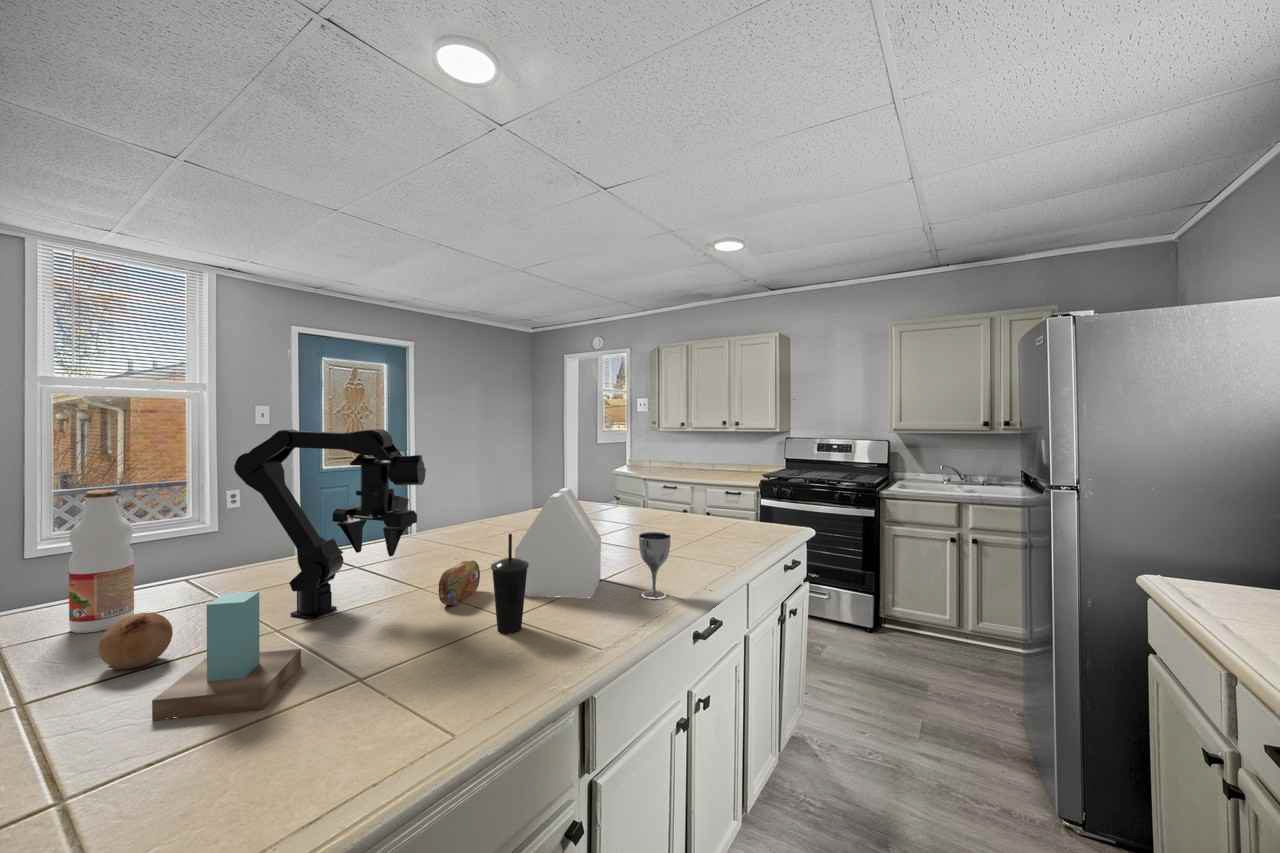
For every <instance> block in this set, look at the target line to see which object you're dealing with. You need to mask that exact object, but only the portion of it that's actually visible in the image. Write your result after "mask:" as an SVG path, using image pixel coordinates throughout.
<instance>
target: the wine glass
mask: <svg viewBox="0 0 1280 853" xmlns="http://www.w3.org/2000/svg"><path fill="white" fill-rule="evenodd" d="M671 538H672V537H671V535H670V534H669V533H665V532H658V531H655V532H654V531H649V532H642V533H640V534H639V535H638V547H639V553H640V554H639V555H640V557H641V559H642V561H643V562H644V563H645V565H647V567H648V569H649V570H650V573H651V578H652V579H651V580H652V589H649V590H650V591H648V590H644V591H645V592H644V593H643V594H644V596H646V597H655V598H658V597H662V596H664V593H663V592H664V591H663V592H661V591H662V590H659V591H657V590H658V589H657V588H656V587H657V586H656V584H657V577H658V576H657V575H658V572H659V569H660V568H661V567H662V566H663V564H665V562H666V561H668V558H669V555H670V549H671V544H672V543H671V542H672V541H671Z"/></svg>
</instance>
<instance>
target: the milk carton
mask: <svg viewBox="0 0 1280 853" xmlns="http://www.w3.org/2000/svg"><path fill="white" fill-rule="evenodd" d="M601 549H602V537H601V535H600V534H599V532H598V531H597V528H596V527H595V526H594V524H593V523H592V521H591V518H589V516H588V514H587V513H586V511H585V510H584V508H583V506H582V505H581V502H580V501H579V500H578V498H577V497H576V495H575V493H574V491H573V490H572V489H571V487H563V488H561V489H559V490H558V491H557V492H555V493H553V494H552V495H549V497H548V499H546V502H545V503H544V505H543V506H542V508H541V509H540V511H539V512H538V514H537V515H536V517H535V519H534V520H533V522H532V523H531V525H530V526H529V528H528V530H527V531H526V533H525V534H524V536H522V538H521V540H520V541H519V543H518V545H517V546H516V548H515V549H514V558H518V559H521V560H523V561H526V562H528V563H529V567H528V568H527V576H526V586H525V595H526V596H525V597H535V596H565V597H566V596H567V597H592V598H593V596H594V594H595V592H596V590H597V588H596V586H597V587H598V585H599V583H600V581H601V577H602V576H601V573H602V572H601V564H602V562H601V560H602V558H601V555H602V553H601V552H602V550H601ZM599 580H600V581H599ZM598 582H599V583H598ZM597 584H598V585H597ZM595 589H596V590H595ZM594 591H595V592H594ZM593 593H594V594H593ZM592 595H593V596H592Z"/></svg>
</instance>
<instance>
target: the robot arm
mask: <svg viewBox="0 0 1280 853" xmlns="http://www.w3.org/2000/svg"><path fill="white" fill-rule="evenodd" d="M296 448H297V449H298V448H300V449H319V450H320V449H321V450H325V449H326V450H342V451H347V452H349V453H353V454H357V456H356V457H355V458H354V459H353V460H351V461H350V462H349V465H350V466H360V489H359V490H355V496H360V506H359V505H349V506H343V507H339V508H336V509H335V510H334V511H333V512H332V522H333V523H336V525H337V526H338V527H339V528H340V529H341V530H342V532H343V533H344V534H345V535H344V536H346V538H347V539H348V541H349V542H350V544H351V546H352V548H353V550H354V552H355V553H356V554H358V553H361V551H362V548H363V531H364V530H363V528H364V526H365V524H366V523H367V521H368V520H370V521H381V522H383V523H384V525H385V526H386V527H383V528H382V530H383V534H384V541H385V544H386V545H385V546H386V550H387V553H388V557H393V556H394V555H395V553H396V550H397V548H398V545H399V542H400V540H401V537H402V535H403V533H404V532H405V531H406V529H408V528H410V527H412V525H413V524H416V523H418V513H417V512H416V511H415V510H413V509H408V505H409V498H406V497H404V496H399V495H395V490H394V488H393V487H392V488H390V482H391V483H393V485H394V486H422V485H424V482H425V479H426V475H427V474H426V467H425V463H424V460H423V455H422V454H414V455H402V453H401V451H400V450H399V449H398V448H397V446H396V445H395V444H394V442H393V437H392V436H391V434H390V433H389V432H388V431H387V430H385V429H381V428H380V429H366V430H359V431H357V430H356V431H350V432H336V431H334V432H333V431H312V430H311V431H309V430H308V431H307V430H306V431H305V430H296V429H281V430H278V431H276V432H275V433H274V434H272V435H271V436H270V438H267V440H264V441H263V442H261V443H260V444H258V445H256V446H254V448H252V449H250V450H249V452H246V453H242V454H241V455H240V456H238V458H236V460H235V463H234V465H233V469H234V472H235V474H236V475H237V476H238V477H239V478H240V480H242V482H244V484H245V485H246V486H248V487H250V488H251V489H253V490H255V492H257V493H259V494H260V495H261V496H262V497H263V500H265V502H266V504H267V505H268V507H269V508H270V510H271V511H272V513H273V514H274V516H275V517H276V518H277V521H278V522H279V523H280V525H281V527H282V528H283V529H284V531H285V533H286V534H287V536H288V537H289V539H290V541H291V542H292V543H293V545H294V546H295V548H296V555H297V564H298V567H299V569H300V571H299V573H298V574H297V575H296V576H295V577H294V578H292V579H291V581H289V586H290V588H291V591H292V592H296V610H295V611H292V612H290V614H289V615H290V616H292V617H297V618H303V619H310V620H313V619H316V618H317V617H320V616H322V615H325V614H328V613H330V612H333V611H335V610H337V609H338V608H337V606H335V605H333V604H332V600H333V598H332V596H333V595H332V594H333V593H332V590H331V588H332V585H331V583H329V582H331V581H332V580H334V579H335V577H336V574H337V573H338V572H339V571H341V569H342V567H343V565H344V564H343V563H344V558H343V555H342V554H343V553H344V551H343V550H342V549H340V548H339V546H338V544H337V541H336V540H335V539H334V538H331V539H328V540H326V539H324V538H322V537H321V536H320V535H319V534H318V532H317V530H316V529H315V527H314V526H313V525H312V523H311V521H310V520H309V518H308V516H307V515H306V513H305V512H304V510H303V509H302V507H301V505H299V503H298V501H297V500H296V497H294V495H293V493H292V492H291V490H290V489H289V487H288V486H287V484H286V481H285V480H286V478H285V469H284V467H283V464H282V463H283V462H285V460H287V459H288V457H290V456H291V454H292V452H293V451H294V449H296ZM371 456H372V457H371Z"/></svg>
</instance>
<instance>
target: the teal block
mask: <svg viewBox="0 0 1280 853" xmlns="http://www.w3.org/2000/svg"><path fill="white" fill-rule="evenodd" d="M259 652H260V591H248V592H247V591H245V592H243V591H242V592H230V593H229V592H228V593H227V592H226V593H223V594H221V595H220V596H219V597H216V598H215V599H213V600H212V601H210V602H208V603H207V604H206V658H207V681H218V680H229V679H240V678H245V677H246V676H247V675H248V674H249V673H250V672H251V671H252V670H253V669H254V668H255V667H256V666H257V665H258V664H259V663H260V655H259Z"/></svg>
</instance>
